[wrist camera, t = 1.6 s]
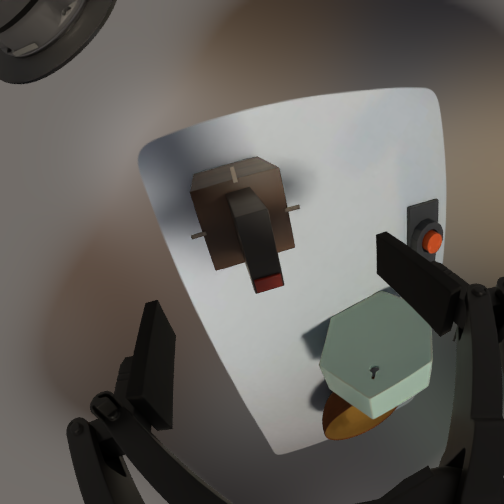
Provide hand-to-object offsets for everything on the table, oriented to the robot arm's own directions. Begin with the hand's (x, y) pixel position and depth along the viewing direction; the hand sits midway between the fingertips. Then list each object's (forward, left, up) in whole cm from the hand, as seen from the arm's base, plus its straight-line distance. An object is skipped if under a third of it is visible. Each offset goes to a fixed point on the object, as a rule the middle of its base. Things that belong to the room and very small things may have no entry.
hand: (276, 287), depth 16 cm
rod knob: (0, 0, -11) cm, 11 cm away
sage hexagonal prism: (+27, +15, -21) cm, 38 cm away
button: (+14, +29, -19) cm, 38 cm away
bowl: (+47, +13, -21) cm, 53 cm away
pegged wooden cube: (0, 0, -21) cm, 21 cm away
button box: (+14, +29, -21) cm, 39 cm away
